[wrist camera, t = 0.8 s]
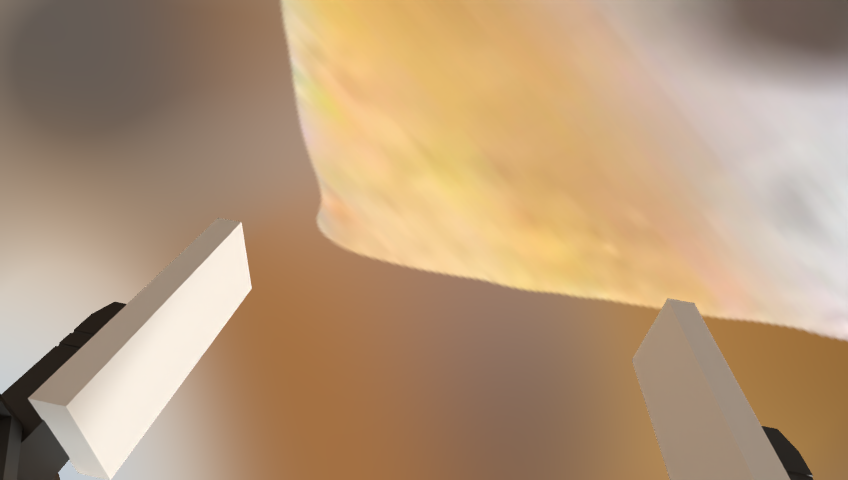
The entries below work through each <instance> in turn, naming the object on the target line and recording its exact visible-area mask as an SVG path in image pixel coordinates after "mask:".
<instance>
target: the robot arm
mask: <svg viewBox="0 0 848 480" xmlns="http://www.w3.org/2000/svg"><path fill="white" fill-rule="evenodd" d="M251 288H252V287H251V282H250V275H249V268H248V261H247V255H246V249H245V243H244V236H243V229H242V223H241V222H237V221H232V220H227V219H221V218H217V219H216V220H215V221H214V222H213V223H212V224H211V225H210V226H209V227H208V228H207V229H206V230H205V231H204V232H203V233H202V234H201V235H199V236H198V237H197V239H195V240H194V241H193V242H192V243H191V244H190V245H189V246H188V247H187V248H186V249H185V250H184V251H183V252H182V253H181V254H179V255H178V257H176V258H175V259H174V260H173V261H172V262H171V263H170V264H169V265H168V266H167V267H166V268H165V269H164V270H163V271H162V272H161V273H159V274H158V275H157V276H156V277H155V278H154V279H153V280H152V281H151V282H150V283H149V284H148V285H147V286H146V287H145V288H144V289H143V290H142V291H140V292H139V293H138V294H137V295H136V296H135V297H134V298H133V299H132V300H131V301H130V302H129V303H128V304H123V303H118V302H113V303H111V304H109V305H108V306H106V307H104V308H102V309H100V310H98V311H96V312H95V313H93V314H91V315H90V316H89V317H88V318H87V319H86V320H85V321H83V322H82V323H81V324H80V325H79V326H78V327H77V328H76V329H74V332H73V333H70V334H69V335H68V336H67V337H65V338H64V339H63V340H62V341H61V342H60V344H59V346H55V347H54V348H53V349H52V350H51V351H50V352H49V353H47V354H46V355H45V356H44V357H43V358H42V359H41V360H40V361H39V362H37V363H36V364H35V365H34V366H33V367H32V368H31V369H29V370H28V371H27V372H26V373H25V374H24V375H23V376H22V377H21V378H19V379H18V380H17V381H16V382H15V383H14V384H13V385H11V386H10V387H9V388H8V389H7V390H6V391H5V392H4V393H3V394H0V480H60V477H59V474H58V472H59V471H60V470H61V468H62V467H63V466H64V465H65V464H66V462H67V461H68V460H70V462H71V463H72V464H73V466H74V467H75V469H76V470H77V472H78V473H81V474H85V475H89V476H94V477H99V478H103V479H108V480H111V479H112V477H113V476H114V475H115V473H116V472H117V471H118V469H119V468H120V467H121V465H122V464H123V463H124V461H125V459H126V458H127V457H128V456H129V454H130V453H131V452H132V450H133V449H134V448H135V446H136V445H137V443H138V442H139V441H140V439H141V438H142V437H143V435H144V434H145V433H146V431H147V430H148V429H149V427H150V426H151V424H152V423H153V421H154V420H155V419H156V418H157V416H158V415H159V414H160V412H161V411H162V410H163V408H164V407H165V405H166V404H167V403H168V401H169V400H170V398H171V397H172V396H173V394H174V393H175V392H176V390H177V389H178V388H179V386H180V385H181V384H182V382H183V381H184V379H185V378H186V377H187V375H188V374H189V373H190V371H191V370H192V369H193V367H194V366H195V365H196V363H197V362H198V361H199V359H200V358H201V356H202V355H203V354H204V352H205V351H206V350H207V348H208V347H209V346H210V344H211V343H212V342H213V340H214V339H215V337H216V336H217V335H218V333H219V332H220V331H221V329H222V328H223V327H224V325H225V324H226V322H227V321H228V320H229V318H230V317H231V316H232V314H233V313H234V312H235V310H236V309H237V308H238V306H239V305H240V303H241V302H242V301H243V299H244V298H245V297H246V295H247V294H248V292H249V291H250V290H251ZM632 362H633V365H634V368H635V371H636V374H637V378H638V381H639V384H640V387H641V390H642V393H643V397H644V400H645V403H646V406H647V409H648V412H649V415H650V418H651V421H652V425H653V428H654V431H655V434H656V437H657V440H658V443H659V447H660V450H661V453H662V456H663V459H664V462H665V466H666V469H667V472H668V475H669V478H670V480H813V478H812V476H813V475H812V473H811V472H810V470H809V468H808V467H807V465H806V463H805V461H804V460H803V458H802V456H801V455H800V453H799V451H798V450H797V449H796V448H795V447H794V446H793V445H792V444H791V443H790V442H789V441H788V440H787V439H786V438H785V437H784V436H783V434H782V433H781V432H780V431H779V430H777V429H774V428H769V427H764V426H761V425H760V423H759V421H758V419H757V417H756V416H755V414H754V412H753V410H752V408H751V407H750V405H749V403H748V401H747V399H746V397H745V396H744V394H743V392H742V390H741V388H740V386H739V384H738V383H737V381H736V379H735V377H734V375H733V374H732V372H731V370H730V368H729V366H728V364H727V362H726V361H725V359H724V357H723V355H722V353H721V351H720V350H719V348H718V346H717V344H716V342H715V340H714V339H713V337H712V335H711V333H710V331H709V329H708V328H707V326H706V324H705V322H704V320H703V318H702V317H701V315H700V313H699V311H698V309H697V307H696V306H695V304H694V303H690V302H685V301H679V300H674V299H667V301H666V302H665V304H664V306H663V307H662V309H661V311H660V313H659V314H658V316H657V318H656V320H655V321H654V323H653V325H652V326H651V328H650V330H649V331H648V333H647V335H646V337H645V338H644V340H643V342H642V343H641V345H640V347H639V349H638V350H637V352H636V354H635V355H634V357H633V359H632Z"/></svg>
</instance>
